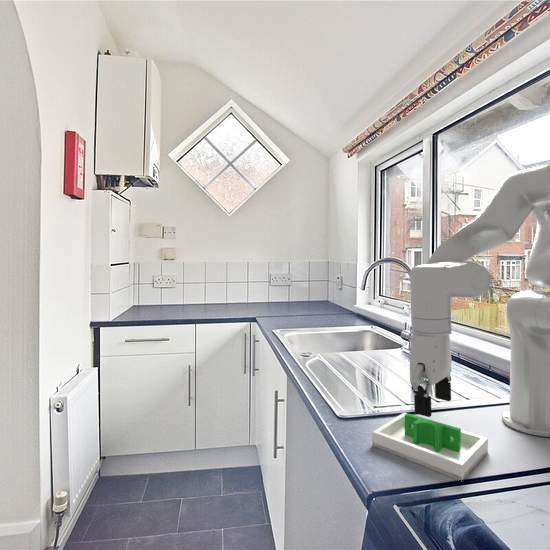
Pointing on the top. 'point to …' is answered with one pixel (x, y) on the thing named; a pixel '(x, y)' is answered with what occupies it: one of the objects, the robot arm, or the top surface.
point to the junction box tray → (431, 449)
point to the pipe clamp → (432, 433)
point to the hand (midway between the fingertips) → (433, 406)
